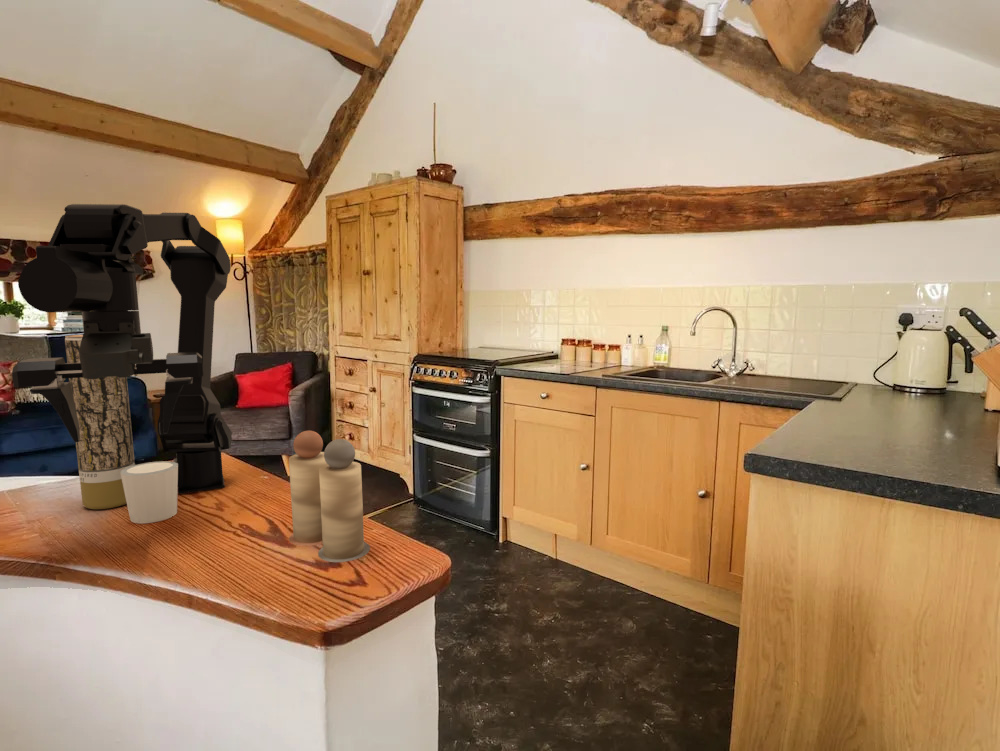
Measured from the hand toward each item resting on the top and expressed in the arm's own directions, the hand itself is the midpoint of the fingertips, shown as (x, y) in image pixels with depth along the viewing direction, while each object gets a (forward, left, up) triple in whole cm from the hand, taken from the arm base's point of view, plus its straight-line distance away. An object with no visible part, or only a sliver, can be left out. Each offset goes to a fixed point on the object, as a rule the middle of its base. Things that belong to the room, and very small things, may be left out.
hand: (122, 437), depth 70 cm
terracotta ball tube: (-20, +13, -12) cm, 27 cm away
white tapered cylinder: (-2, -7, -13) cm, 15 cm away
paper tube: (+4, -16, -13) cm, 21 cm away
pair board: (-21, +16, -13) cm, 30 cm away
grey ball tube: (-22, +19, -12) cm, 32 cm away
